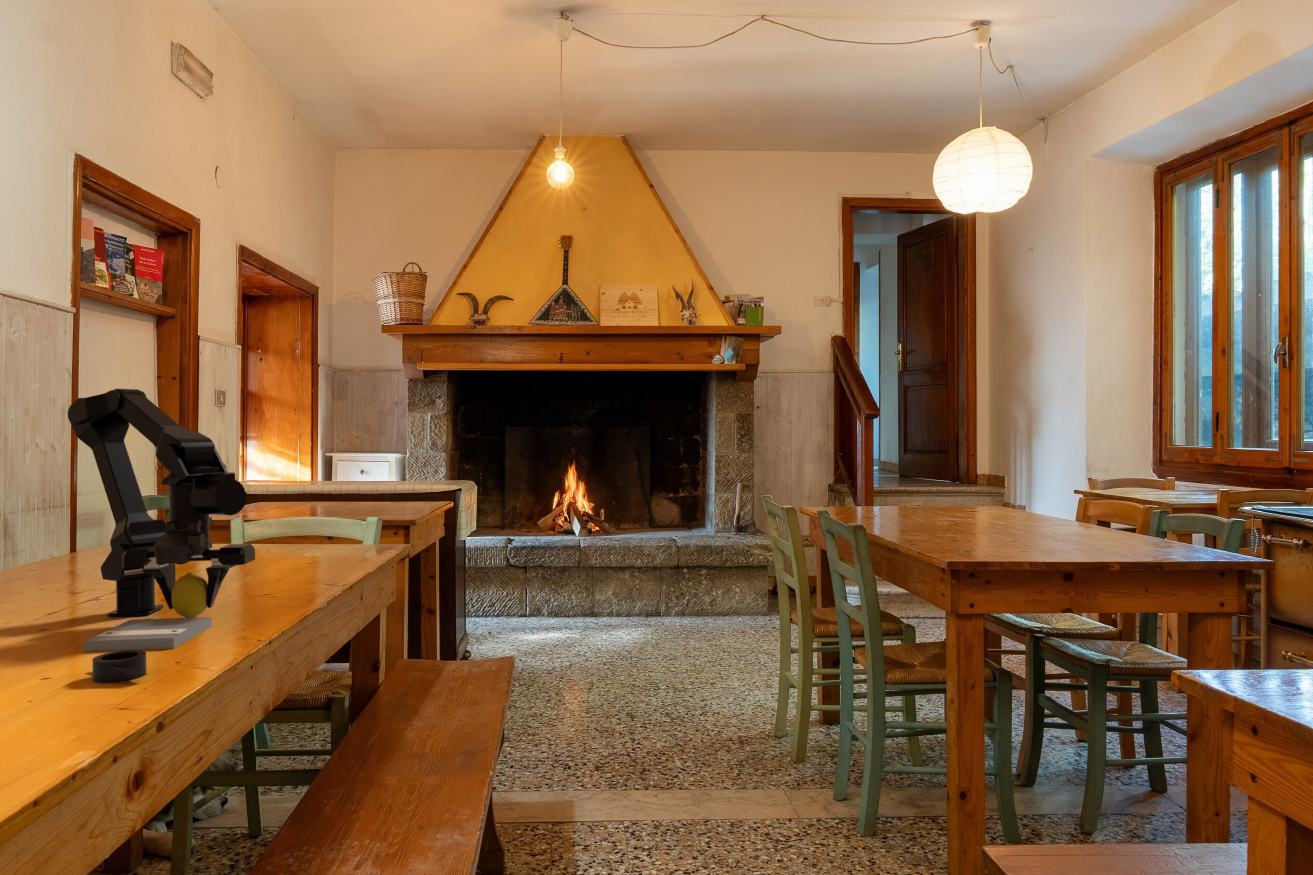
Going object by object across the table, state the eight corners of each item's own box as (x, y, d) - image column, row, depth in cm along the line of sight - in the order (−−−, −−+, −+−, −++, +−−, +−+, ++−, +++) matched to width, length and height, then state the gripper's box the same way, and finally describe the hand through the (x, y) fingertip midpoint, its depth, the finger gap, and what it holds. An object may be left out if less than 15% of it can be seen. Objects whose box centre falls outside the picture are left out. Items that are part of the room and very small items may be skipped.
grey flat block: (131, 628, 137) (130, 618, 137) (211, 626, 138) (211, 615, 138) (84, 651, 123) (83, 639, 123) (174, 648, 125) (173, 636, 125)
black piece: (161, 665, 117) (161, 643, 117) (146, 686, 107) (146, 662, 107) (94, 671, 114) (94, 649, 114) (73, 693, 105) (73, 669, 104)
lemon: (198, 624, 140) (198, 574, 140) (164, 624, 140) (163, 574, 140) (216, 616, 145) (215, 568, 145) (183, 616, 146) (183, 569, 145)
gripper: (103, 519, 133) (105, 620, 134) (231, 516, 136) (233, 616, 136) (137, 512, 144) (138, 606, 145) (255, 510, 147) (256, 602, 147)
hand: (190, 608), depth 143 cm, fingers closed on lemon, 5 cm apart
